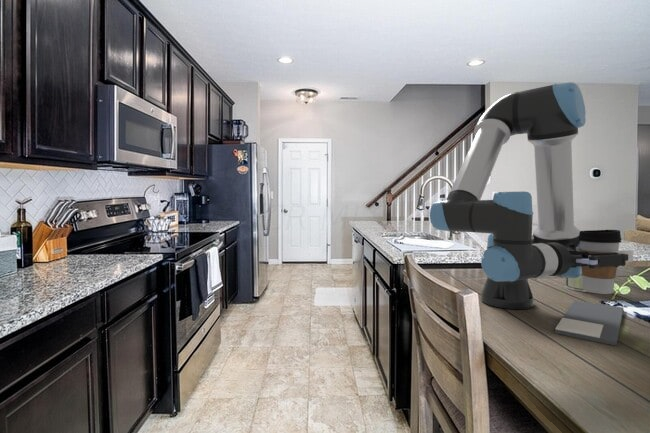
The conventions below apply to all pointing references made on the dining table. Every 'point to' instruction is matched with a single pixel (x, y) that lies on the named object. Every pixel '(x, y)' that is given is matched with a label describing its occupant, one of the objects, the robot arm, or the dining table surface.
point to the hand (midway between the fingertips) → (612, 253)
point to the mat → (591, 322)
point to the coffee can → (575, 284)
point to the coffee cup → (599, 243)
